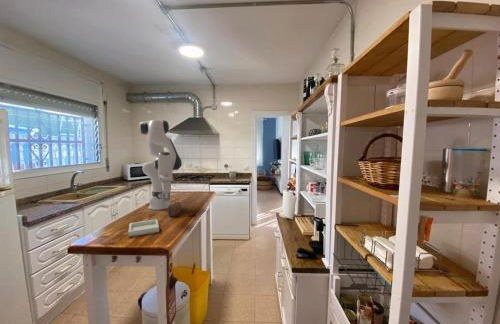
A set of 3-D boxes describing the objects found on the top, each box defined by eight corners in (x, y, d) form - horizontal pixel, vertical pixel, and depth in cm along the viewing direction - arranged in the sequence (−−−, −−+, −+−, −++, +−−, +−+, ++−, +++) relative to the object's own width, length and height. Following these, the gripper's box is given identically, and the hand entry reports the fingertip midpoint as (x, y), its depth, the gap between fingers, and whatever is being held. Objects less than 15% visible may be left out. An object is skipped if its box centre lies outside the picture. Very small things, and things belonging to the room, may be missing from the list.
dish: (129, 227, 138) (129, 223, 138) (157, 223, 145) (157, 219, 145) (128, 237, 124) (128, 231, 123) (159, 232, 131) (159, 227, 130)
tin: (170, 217, 157) (170, 206, 157) (166, 217, 158) (166, 205, 157) (181, 211, 172) (181, 200, 171) (177, 211, 173) (177, 200, 172)
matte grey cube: (162, 199, 148) (162, 192, 147) (169, 198, 150) (169, 191, 149) (162, 201, 144) (162, 193, 143) (170, 200, 146) (169, 192, 145)
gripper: (159, 174, 153) (159, 194, 154) (161, 179, 135) (162, 201, 136) (168, 174, 156) (169, 193, 157) (172, 178, 138) (173, 199, 139)
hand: (166, 196), depth 147 cm, fingers closed on matte grey cube, 4 cm apart
